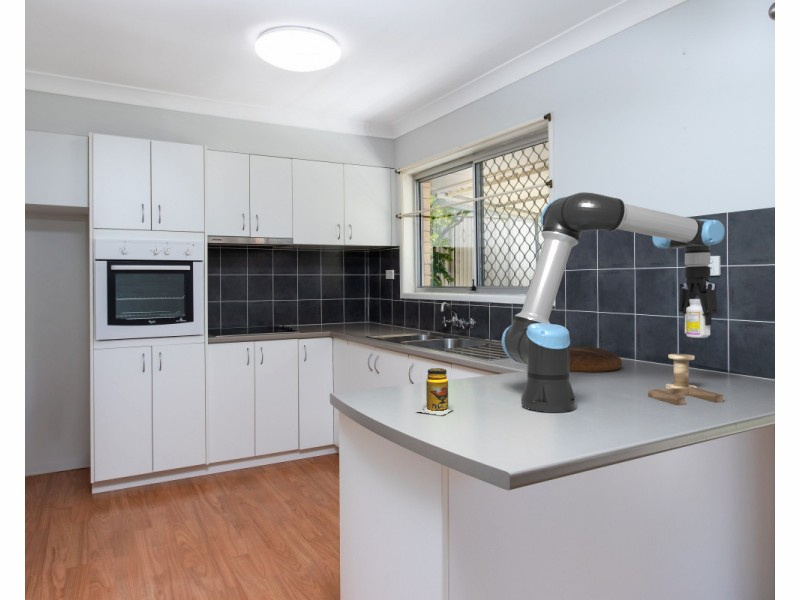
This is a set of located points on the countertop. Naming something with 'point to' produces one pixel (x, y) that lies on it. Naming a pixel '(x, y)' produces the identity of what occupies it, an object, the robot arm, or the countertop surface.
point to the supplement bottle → (694, 319)
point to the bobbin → (680, 371)
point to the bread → (593, 360)
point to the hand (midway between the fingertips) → (697, 334)
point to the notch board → (676, 395)
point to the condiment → (437, 389)
